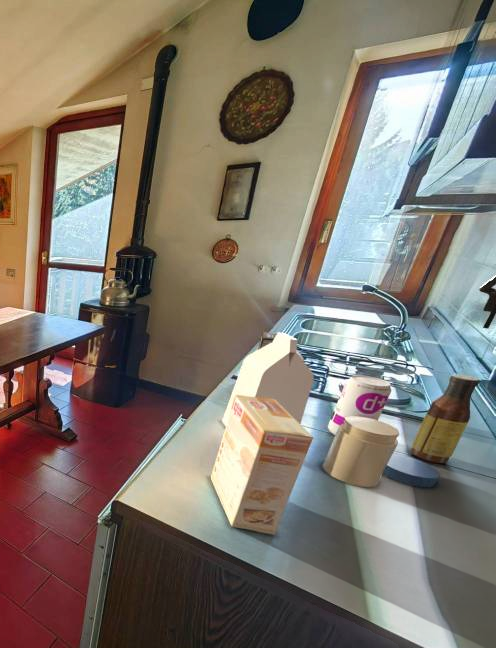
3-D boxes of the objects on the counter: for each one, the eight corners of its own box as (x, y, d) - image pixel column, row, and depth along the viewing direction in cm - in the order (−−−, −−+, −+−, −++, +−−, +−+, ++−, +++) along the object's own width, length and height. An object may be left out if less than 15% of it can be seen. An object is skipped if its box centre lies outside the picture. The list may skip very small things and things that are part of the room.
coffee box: (249, 375, 138) (262, 331, 131) (270, 379, 134) (285, 334, 128) (248, 383, 131) (262, 337, 124) (271, 388, 127) (287, 340, 121)
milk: (221, 421, 105) (248, 327, 95) (269, 426, 103) (301, 331, 93) (239, 444, 94) (271, 341, 84) (292, 450, 92) (332, 345, 82)
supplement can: (375, 445, 95) (402, 389, 89) (334, 439, 97) (357, 384, 92) (359, 430, 102) (382, 377, 96) (321, 424, 104) (342, 372, 99)
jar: (382, 477, 83) (406, 427, 78) (372, 493, 78) (397, 441, 73) (329, 457, 89) (349, 411, 85) (316, 471, 84) (337, 422, 80)
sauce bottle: (455, 463, 88) (501, 382, 80) (432, 465, 87) (477, 384, 79) (420, 448, 94) (461, 371, 86) (399, 450, 93) (438, 373, 85)
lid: (445, 492, 78) (451, 482, 78) (385, 480, 82) (390, 471, 81) (418, 466, 87) (423, 458, 86) (364, 457, 90) (368, 448, 89)
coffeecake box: (276, 536, 67) (316, 437, 59) (230, 527, 68) (262, 430, 61) (247, 484, 80) (276, 398, 72) (209, 477, 82) (233, 393, 74)
